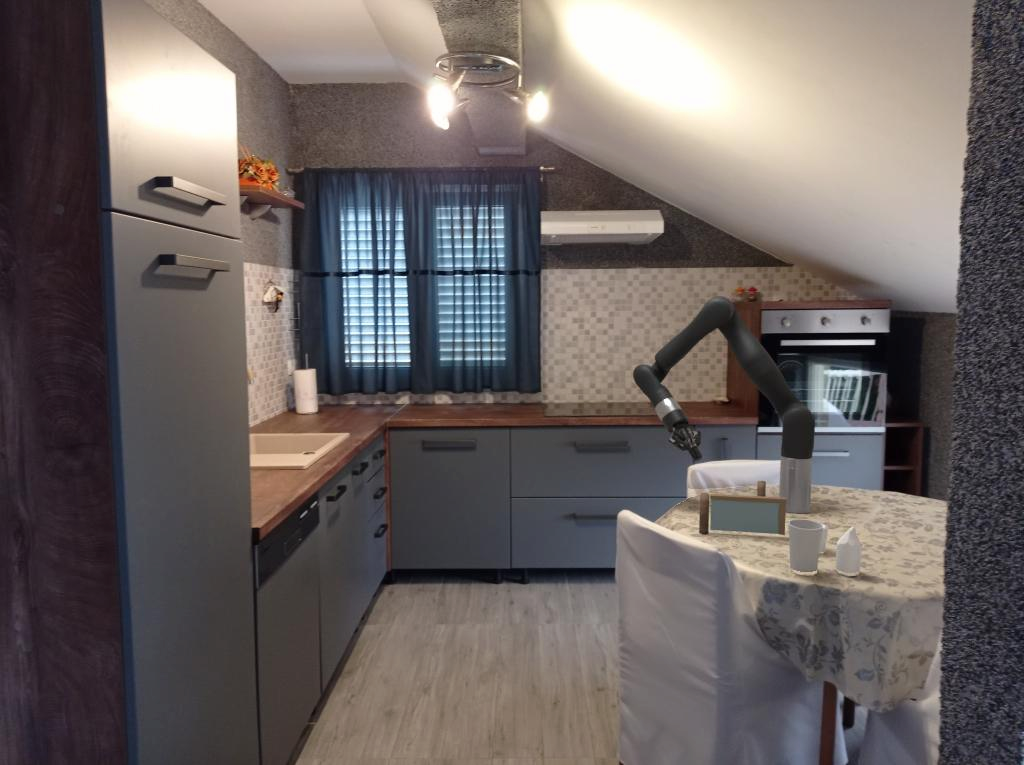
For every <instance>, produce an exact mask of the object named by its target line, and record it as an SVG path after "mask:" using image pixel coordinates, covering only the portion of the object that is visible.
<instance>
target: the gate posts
mask: <svg viewBox="0 0 1024 765" xmlns="http://www.w3.org/2000/svg"><path fill="white" fill-rule="evenodd" d="M766 485H767V482H766V481H765V480H757V487H756V488H757V490H756V491H757V492H756V496H763V497H766V492H767V490H766V488H767V486H766ZM698 522H699V523H698V524H699V525H698V527H699V529H698V532H699V533H698V534H700V535H708V534H709V533H710V531H709V530H710V494H709V493H707V492H706V493H705V492H701V493H700V494H699V520H698Z"/></svg>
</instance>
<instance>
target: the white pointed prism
mask: <svg viewBox="0 0 1024 765" xmlns="http://www.w3.org/2000/svg"><path fill="white" fill-rule="evenodd" d="M862 549H863V546H862V542H861V540H860V538H859V537H858V534H857V532H856V528H855V526H854V525H852V526H851V527H850V528H848V529H847V530H846V531H845V533H844V534H843V536H841V537H840V538H839V539H838V540H837V543H836V555H835V567H834V568H836V569H837V570H839V571H842V572H846V573H856V572H859V571H860V572H861V565H862V562H861V561H862V552H863V551H862ZM860 572H859V573H860Z"/></svg>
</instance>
